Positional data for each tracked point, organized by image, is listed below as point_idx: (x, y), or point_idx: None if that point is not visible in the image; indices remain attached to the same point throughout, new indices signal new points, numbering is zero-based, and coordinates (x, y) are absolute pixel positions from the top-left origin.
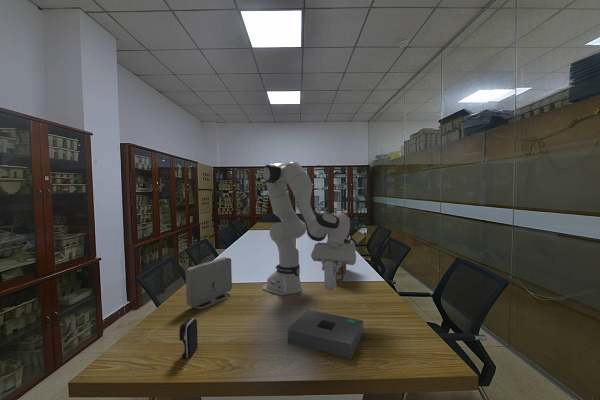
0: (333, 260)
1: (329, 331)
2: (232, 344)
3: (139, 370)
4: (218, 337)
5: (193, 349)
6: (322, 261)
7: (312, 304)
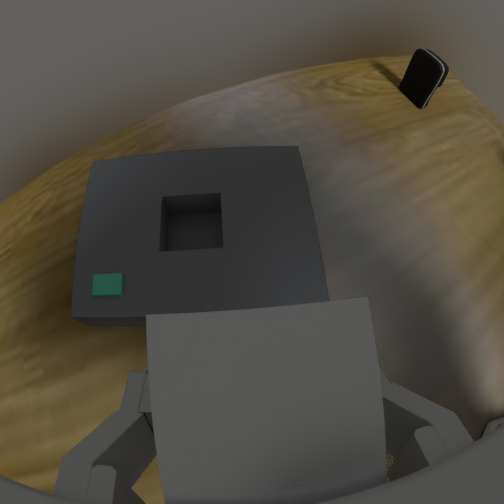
0: (210, 489)
1: (165, 187)
2: (388, 128)
3: None
4: (428, 140)
5: (409, 92)
6: (436, 418)
7: None
